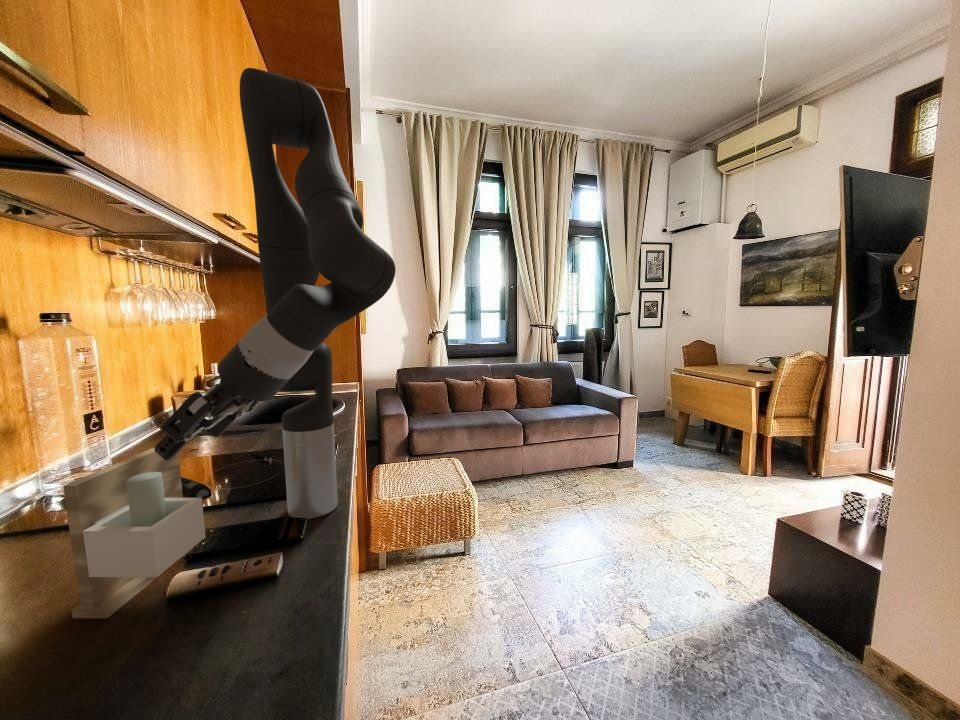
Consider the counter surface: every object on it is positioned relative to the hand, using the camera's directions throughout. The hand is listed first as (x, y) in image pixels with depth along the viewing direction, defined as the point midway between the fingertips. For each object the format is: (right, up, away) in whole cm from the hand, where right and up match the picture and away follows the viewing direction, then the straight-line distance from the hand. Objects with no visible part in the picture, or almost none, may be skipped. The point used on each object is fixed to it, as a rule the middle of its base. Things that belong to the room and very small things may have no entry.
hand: (188, 442), depth 51 cm
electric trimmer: (-26, -19, +34) cm, 47 cm away
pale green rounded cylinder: (-7, -15, +2) cm, 16 cm away
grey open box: (-7, -16, +2) cm, 18 cm away
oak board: (-12, -21, +7) cm, 26 cm away
